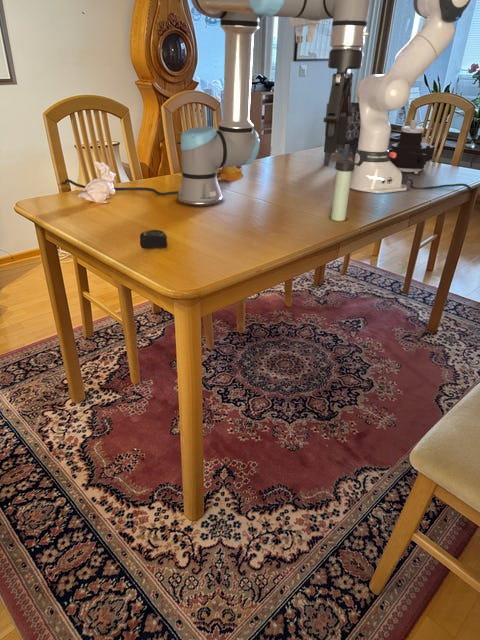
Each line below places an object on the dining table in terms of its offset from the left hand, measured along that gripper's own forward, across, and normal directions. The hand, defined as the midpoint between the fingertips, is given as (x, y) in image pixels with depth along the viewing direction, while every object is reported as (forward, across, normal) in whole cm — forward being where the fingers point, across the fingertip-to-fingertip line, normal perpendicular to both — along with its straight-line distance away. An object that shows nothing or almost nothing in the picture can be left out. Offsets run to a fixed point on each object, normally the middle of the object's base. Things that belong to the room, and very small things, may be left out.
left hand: (334, 148), depth 113 cm
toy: (+24, +55, +50) cm, 78 cm away
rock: (+24, +142, +16) cm, 145 cm away
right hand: (-24, +49, +22) cm, 59 cm away
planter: (+24, +101, +12) cm, 104 cm away
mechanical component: (+24, +110, -17) cm, 114 cm away
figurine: (+24, +7, +78) cm, 82 cm away
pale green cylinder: (+24, +22, 0) cm, 33 cm away
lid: (+7, +22, 0) cm, 23 cm away
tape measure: (+24, -24, +39) cm, 52 cm away
